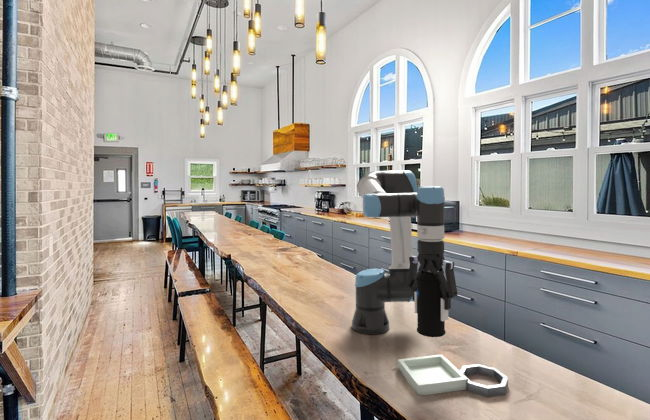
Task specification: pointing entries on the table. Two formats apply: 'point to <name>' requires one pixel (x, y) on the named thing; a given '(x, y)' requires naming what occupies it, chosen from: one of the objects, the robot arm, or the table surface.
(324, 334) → the table surface
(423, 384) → the tray
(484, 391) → the collar
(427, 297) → the aerosol can
